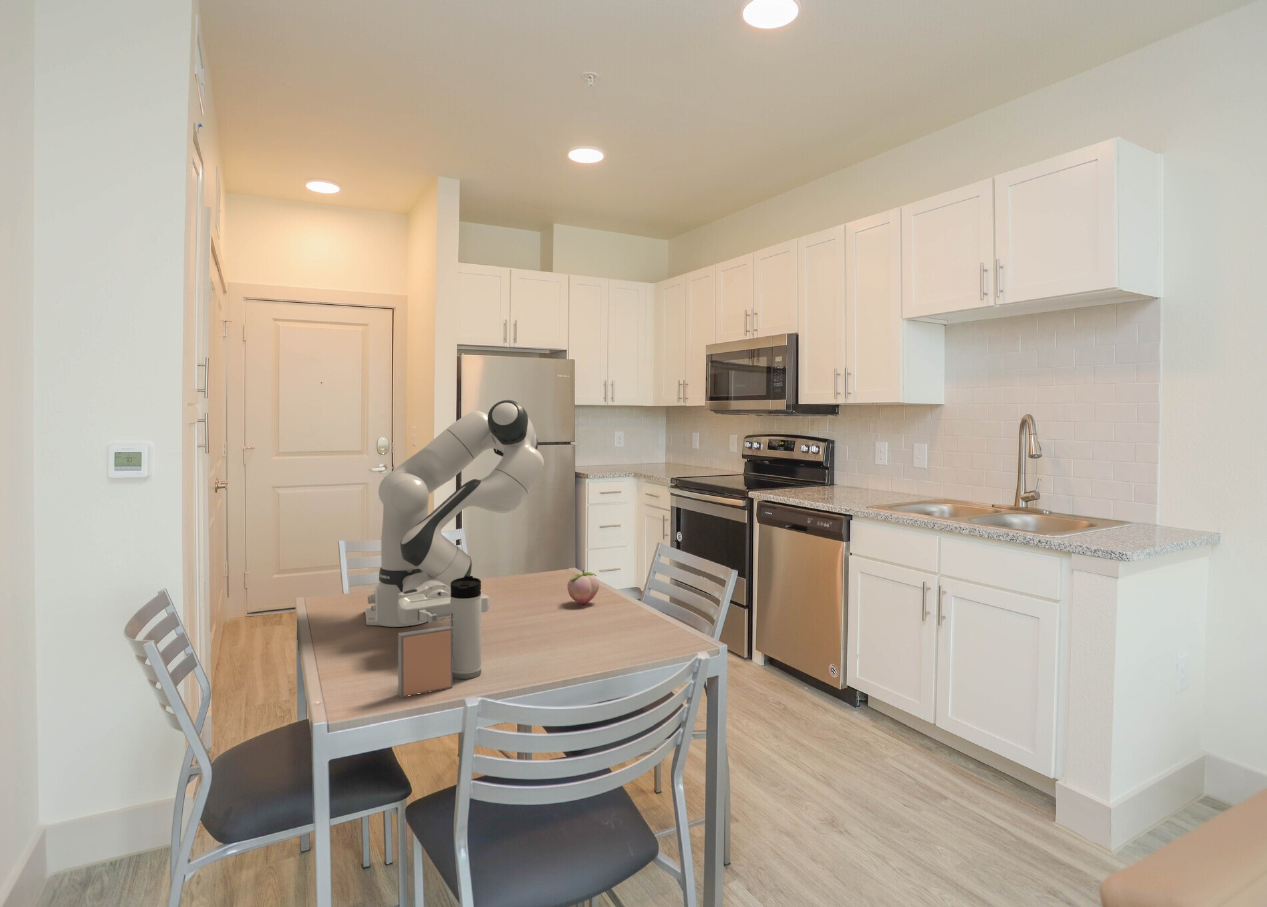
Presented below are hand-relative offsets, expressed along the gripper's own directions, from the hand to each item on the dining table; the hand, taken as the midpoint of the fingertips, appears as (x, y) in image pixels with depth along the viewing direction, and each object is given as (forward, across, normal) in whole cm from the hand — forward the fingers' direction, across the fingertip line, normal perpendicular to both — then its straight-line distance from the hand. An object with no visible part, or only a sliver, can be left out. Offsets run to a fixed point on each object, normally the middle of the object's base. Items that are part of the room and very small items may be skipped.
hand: (454, 615), depth 157 cm
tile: (+13, +10, -10) cm, 20 cm away
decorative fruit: (-29, -47, -11) cm, 57 cm away
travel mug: (+8, 0, -11) cm, 13 cm away
